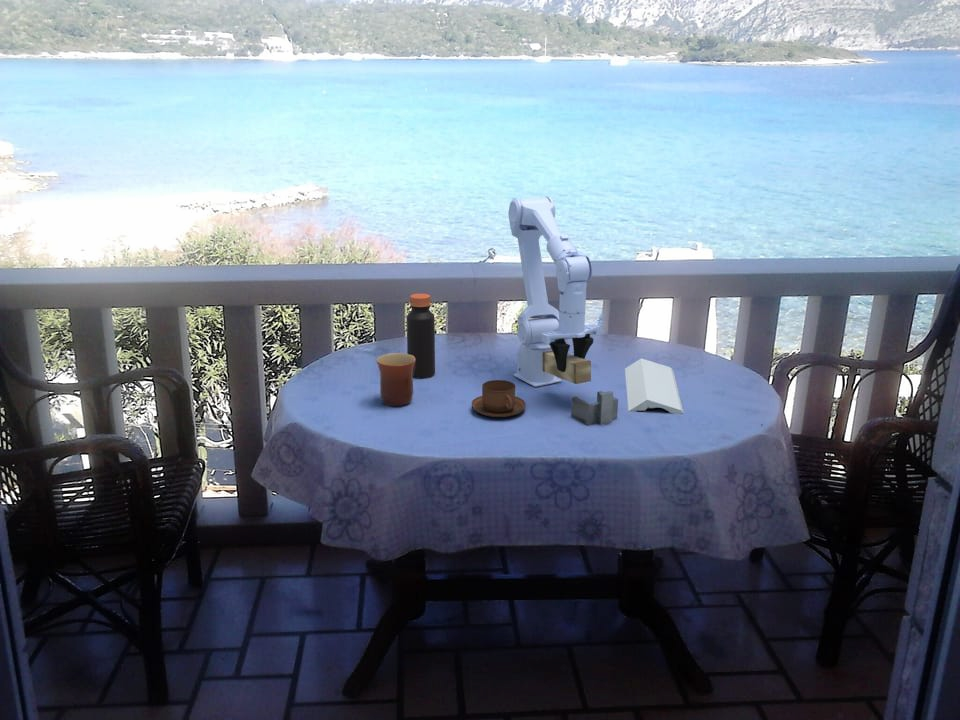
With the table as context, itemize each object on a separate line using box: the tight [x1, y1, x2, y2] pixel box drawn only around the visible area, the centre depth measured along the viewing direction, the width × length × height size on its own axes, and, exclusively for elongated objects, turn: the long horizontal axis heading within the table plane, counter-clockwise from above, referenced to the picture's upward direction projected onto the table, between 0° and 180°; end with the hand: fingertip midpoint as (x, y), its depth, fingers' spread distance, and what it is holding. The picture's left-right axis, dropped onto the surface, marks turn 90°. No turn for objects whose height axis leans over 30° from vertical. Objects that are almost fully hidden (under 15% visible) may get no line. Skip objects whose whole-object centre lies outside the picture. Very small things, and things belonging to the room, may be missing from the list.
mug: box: [376, 352, 416, 407], centre depth 201 cm, size 12×9×10 cm
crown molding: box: [624, 358, 685, 415], centre depth 210 cm, size 29×12×4 cm, turn 173°
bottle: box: [406, 293, 436, 379], centre depth 216 cm, size 7×7×20 cm
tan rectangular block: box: [542, 350, 592, 385], centre depth 200 cm, size 13×4×5 cm, turn 31°
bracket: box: [570, 390, 619, 426], centre depth 192 cm, size 7×8×7 cm
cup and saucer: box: [471, 379, 527, 418], centre depth 196 cm, size 12×12×6 cm
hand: (569, 369), depth 199 cm, fingers closed on tan rectangular block, 4 cm apart
